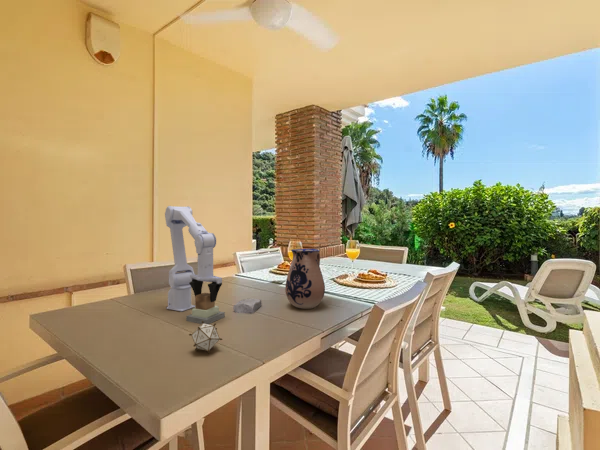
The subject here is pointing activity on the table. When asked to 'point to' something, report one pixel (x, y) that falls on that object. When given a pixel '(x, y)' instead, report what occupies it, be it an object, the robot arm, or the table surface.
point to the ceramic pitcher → (305, 279)
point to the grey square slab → (206, 320)
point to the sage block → (205, 312)
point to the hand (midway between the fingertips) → (205, 300)
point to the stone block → (247, 305)
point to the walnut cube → (203, 301)
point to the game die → (205, 337)
